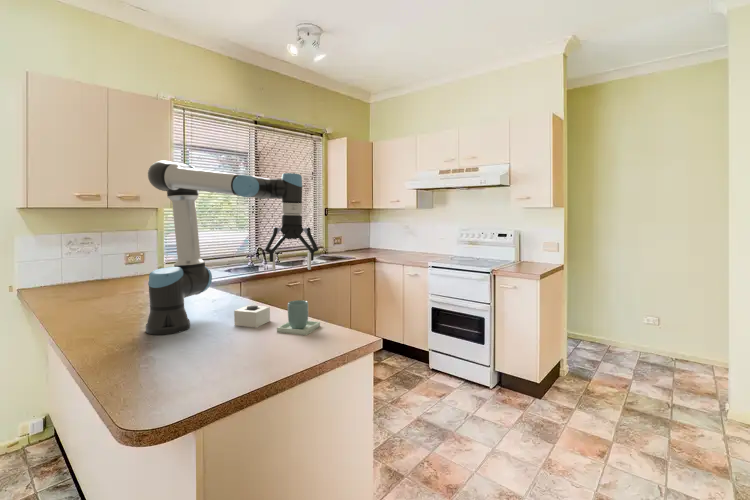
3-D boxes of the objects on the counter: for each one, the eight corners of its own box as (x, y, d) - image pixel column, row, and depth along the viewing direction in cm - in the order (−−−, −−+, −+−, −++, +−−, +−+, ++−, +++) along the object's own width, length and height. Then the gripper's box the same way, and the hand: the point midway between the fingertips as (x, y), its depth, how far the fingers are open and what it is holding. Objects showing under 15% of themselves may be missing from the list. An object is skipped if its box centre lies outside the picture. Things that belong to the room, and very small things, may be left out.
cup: (289, 331, 147) (288, 305, 146) (286, 325, 154) (286, 300, 153) (310, 329, 150) (309, 303, 149) (306, 324, 157) (306, 299, 156)
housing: (234, 325, 157) (234, 310, 156) (249, 318, 166) (248, 305, 166) (256, 327, 154) (256, 312, 153) (270, 320, 163) (269, 306, 163)
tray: (277, 332, 148) (276, 327, 148) (292, 323, 160) (292, 319, 159) (306, 335, 145) (306, 330, 144) (320, 326, 156) (320, 321, 156)
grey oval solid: (245, 322, 159) (244, 307, 158) (251, 319, 163) (250, 305, 162) (254, 322, 157) (253, 308, 157) (260, 320, 161) (259, 305, 161)
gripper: (259, 214, 141) (259, 272, 143) (326, 215, 151) (325, 270, 153) (257, 213, 148) (257, 269, 150) (321, 215, 157) (320, 267, 160)
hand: (291, 269), depth 151 cm, fingers open, 13 cm apart
